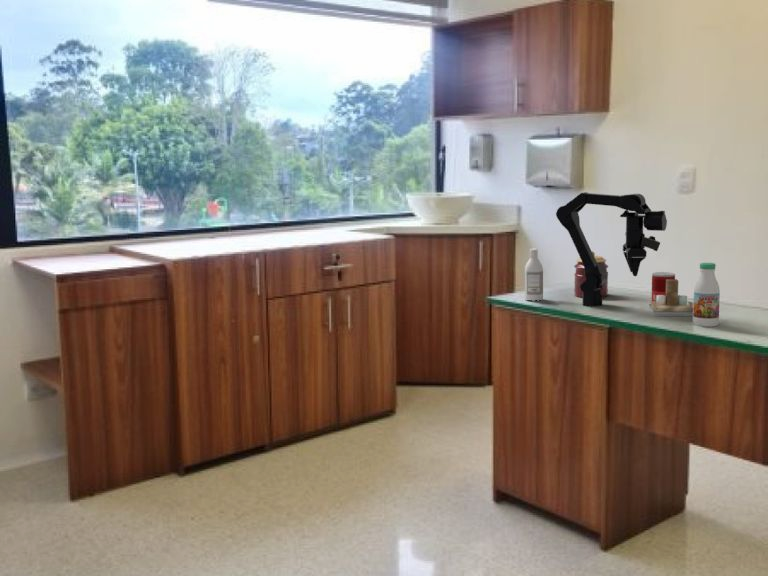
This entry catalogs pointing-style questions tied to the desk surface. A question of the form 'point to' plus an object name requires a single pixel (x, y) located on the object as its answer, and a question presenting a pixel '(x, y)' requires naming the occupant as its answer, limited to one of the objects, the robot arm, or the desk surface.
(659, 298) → the white short cylinder
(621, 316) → the desk surface
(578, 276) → the canister
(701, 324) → the milk bottle
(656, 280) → the canned food
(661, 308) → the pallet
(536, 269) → the bath foam
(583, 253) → the robot arm
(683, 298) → the grey-green round cylinder
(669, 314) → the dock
